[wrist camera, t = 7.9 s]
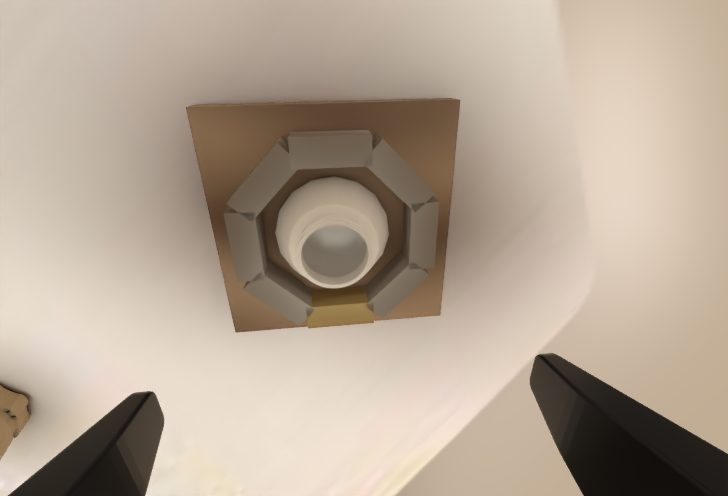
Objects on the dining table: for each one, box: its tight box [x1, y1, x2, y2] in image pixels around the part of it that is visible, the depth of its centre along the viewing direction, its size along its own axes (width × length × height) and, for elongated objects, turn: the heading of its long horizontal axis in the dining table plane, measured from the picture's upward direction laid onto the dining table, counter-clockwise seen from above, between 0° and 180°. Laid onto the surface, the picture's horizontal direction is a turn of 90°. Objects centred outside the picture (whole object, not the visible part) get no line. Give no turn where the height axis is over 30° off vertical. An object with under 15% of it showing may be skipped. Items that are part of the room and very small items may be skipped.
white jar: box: [275, 176, 389, 288], centre depth 15 cm, size 5×3×5 cm
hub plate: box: [186, 98, 460, 332], centre depth 17 cm, size 11×11×3 cm
